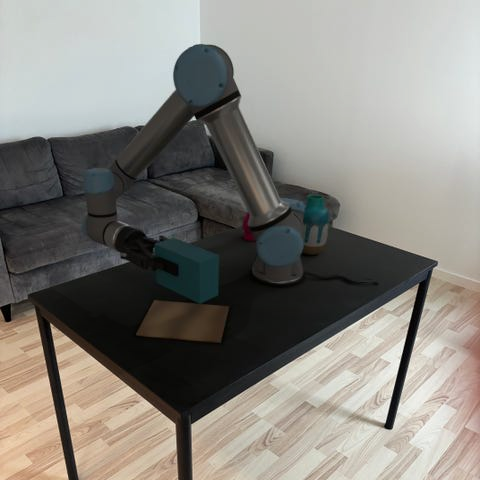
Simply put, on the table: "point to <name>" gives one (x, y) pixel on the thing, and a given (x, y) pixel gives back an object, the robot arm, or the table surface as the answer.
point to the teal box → (189, 270)
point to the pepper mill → (247, 229)
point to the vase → (315, 225)
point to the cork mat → (184, 321)
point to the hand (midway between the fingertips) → (188, 266)
